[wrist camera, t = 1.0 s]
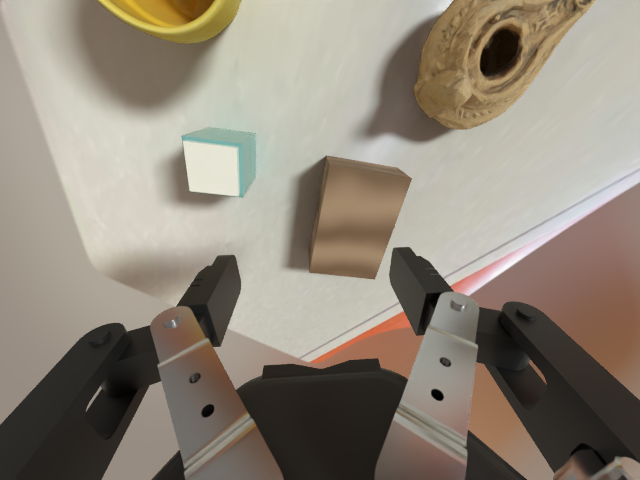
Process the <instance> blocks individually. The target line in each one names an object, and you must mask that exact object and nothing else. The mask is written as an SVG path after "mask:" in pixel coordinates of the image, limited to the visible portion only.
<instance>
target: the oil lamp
mask: <svg viewBox="0 0 640 480" xmlns="http://www.w3.org/2000/svg"><path fill="white" fill-rule="evenodd" d="M594 1H595V0H454V1H453V2H452V3H451V4H450V6H449V7H448V8H447V9H446V10H445V12H444V13H443V14H442V15H441V16H440V18H439V19H438V20H437V22H436V23H435V25H434V26H433V28H432V30H431V32H430V34H429V36H428V38H427V40H426V42H425V44H424V47H423V50H422V52H421V62H420V68H419V75H418V79H417V82H416V84H415V86H414V93H415V97H416V100H417V102H418V104H419V106H420V108H421V109H422V110H423V111H424V112H425V113H426V115H427V117H428V118H434V119H436V120H437V121H438V122H440V123H441V124H442V125H443V126H446V127H448V128H452V129H471V128H473V127H476V126H479V125H481V124H484V123H486V122H488V121H490V120H492V119H494V118H496V117H497V116H499V115H501V114H502V113H503V112H505V111H506V110H507V109H508V108H509V107H510V106H511V105H513V104H514V103H515V102H516V101H517V100H518V99H519V97H520V96H521V95H522V94H523V93H524V92H525V91H526V90H527V88H528V87H529V86H530V84H531V83H532V81H533V80H534V78H535V77H536V76H537V75H538V73H539V72H540V70H541V69H542V67H543V66H544V64H545V63H546V61H547V59H548V58H549V57H550V55H551V54H552V52H553V51H554V49H555V47H556V46H557V45H558V43H559V42H560V41H561V40H562V38H563V37H564V36H565V34H566V33H567V32H568V31H569V29H570V28H571V27H572V26H573V25H574V24H575V23H576V21H577V20H578V19H580V18H581V17H582V16H583V15H584V14H585V13H586V11H587V10H588V9H589V8H590V7H591V6H592V4H593V3H594Z"/></svg>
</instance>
